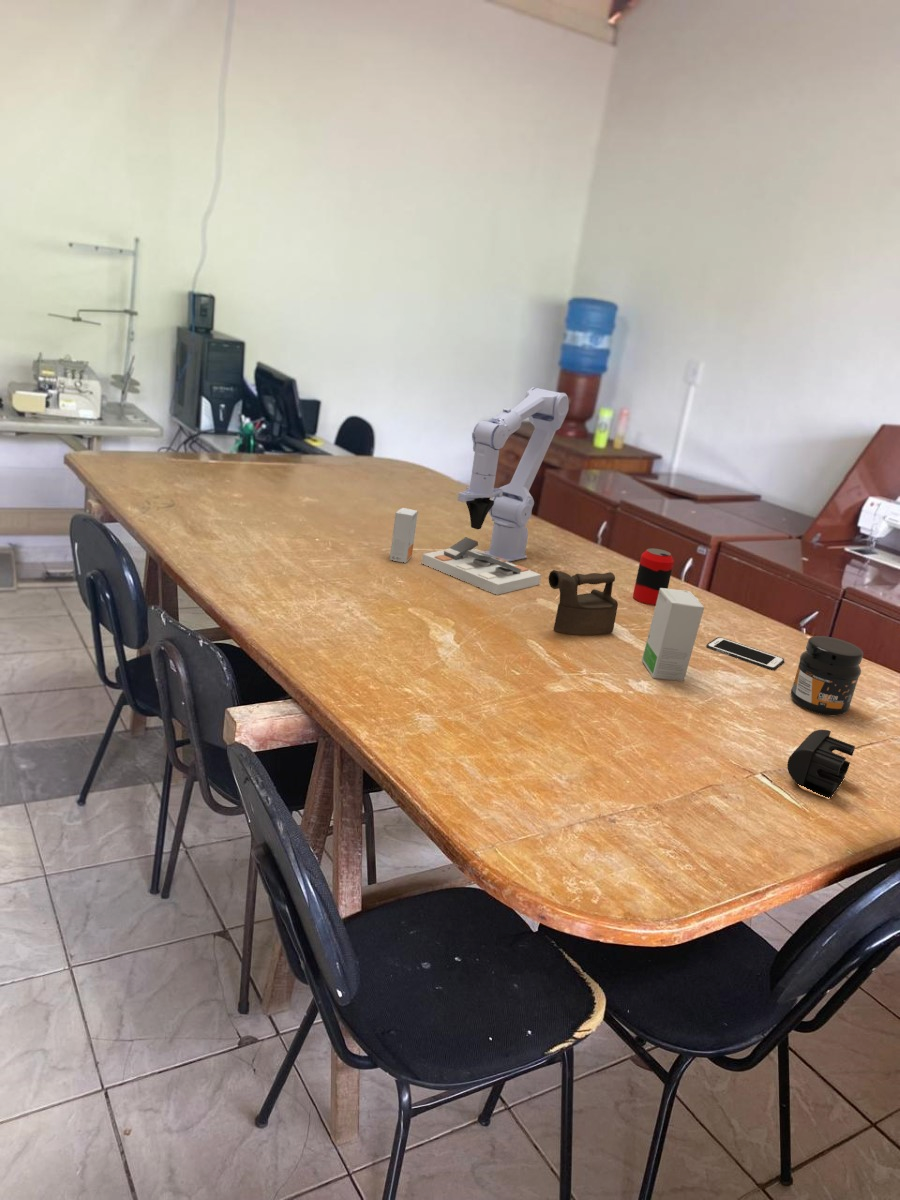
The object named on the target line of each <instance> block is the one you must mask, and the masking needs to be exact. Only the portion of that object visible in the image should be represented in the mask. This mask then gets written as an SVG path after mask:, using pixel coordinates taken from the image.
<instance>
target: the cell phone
mask: <svg viewBox="0 0 900 1200" xmlns="http://www.w3.org/2000/svg"><path fill="white" fill-rule="evenodd" d="M705 647H706V648H707V649H708V650H711V651H714V652H717V653H721V654H724V655H727V656H729V657H731V658H734V659H737V658H738V659H737V660H740V661H743V662H746V663H749V664H752V665H755V666H757V667H760V668H763V669H766V670H770V671H776V670H777V669H778V668H779V666H782V665H783V664H784V662H785V658H783V657H781V656H778V655H775V654H771V653H769V652H766V651H764V650H760V649H757V648H755V647H751V646H748V645H746V644H743V643H740V642H736V641H733V640H730V639H727V638H724V637H721V636H718V637H716V638H714V639H713V640H711V641H709V642H708V643H707V644H706V646H705Z"/></svg>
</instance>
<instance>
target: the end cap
mask: <svg viewBox="0 0 900 1200" xmlns="http://www.w3.org/2000/svg"><path fill="white" fill-rule="evenodd" d="M831 732H832V731H831V730H828V729H818V730H814V731H812V732H811V733H810V734H809V735H808V736H806V738H805V739H804V740H803V741H802V742H801V743H800V744H799V746H797V747H796V749H795V750H794V751H793V752H792V753H791V754H790V756H789V757H788V760H787V767H786V768H787V772H788V774H789V776H790V777H791V779H792V780H793V781H794V782H795V783H797V784H799V785H801V786H804V787H806V788H807V789H810V790H812V791H813V792H816V793H818V794H820V795H823V796H825V797H828V798H829V797H830V798H831V797H832V798H833V796H834V795H835V793H836V792H837V791H838V789H839V788H840V786H841V785H842V784H841V782H842V781H843V779H844V778H846V774H847V773H848V770H849V767H850V765H851V762H850V761H848V760H847V757H844V756H842V755H840V754H836V752H835V753H834V752H833V751H838V752H841V753H843V754H846V755H849V756H851V757H852V756H853V755H854V753H855V749H856V745H854V744H853V745H852V744H851V743H847V742H845V741H842V740H839V739H837V738H834V737H832V736H831ZM844 780H845V779H844ZM843 782H844V781H843ZM843 782H842V783H843ZM797 784H796V785H797ZM840 784H841V785H840ZM839 785H840V786H839ZM838 787H839V788H838ZM837 788H838V789H837ZM836 790H837V791H836ZM835 791H836V792H835ZM834 792H835V793H834ZM833 794H834V795H833ZM832 795H833V796H832ZM832 798H831V799H832Z"/></svg>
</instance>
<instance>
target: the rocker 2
mask: <svg viewBox="0 0 900 1200" xmlns="http://www.w3.org/2000/svg"><path fill="white" fill-rule="evenodd" d="M466 555H468V556H471V557H473V558H476V559H479V560H485V561H489V558H490V557H493V556H491V555H488V554H484V553H478V552H474V551H470V550H467V551H466ZM493 558H495V559H498V558H496V557H493ZM498 560H499V559H498Z"/></svg>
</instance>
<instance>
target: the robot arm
mask: <svg viewBox="0 0 900 1200" xmlns="http://www.w3.org/2000/svg"><path fill="white" fill-rule="evenodd" d="M569 403H570V402H569V397H568V395H567V393H566V392H558V391H553V390H548V389H543V388H538V387H536V386H533V387H531V388H530V389H529V390H527V391H526V394H525V396H524V399H523V400H522V401H521V402H519V403H518V404H517V405H516V406H515V407H514V408H513V407H512V408H511V407H505V408H503V409H502V411H500V412H499V413H497V414H496V415H494V416H492V417H491V418H490V419H489V420H487V421H486V420H481V421H479V422H478V423H476V424H475V426H474V428H473V430H472V432H471V441H472V449H473V452H474V456H473V462H472V469H471V475H470V476H471V477H470V484H469V486H467V487H466V490H464V491H461V492H460V491H459V492H458V493H457V495H458V496H457V501H458V502H461V503H465V504H466V506H467V509H468V513H469V518H470V528H473V529H474V530H481V529H482V527H483V524H484V522H485V520H486V517H487V516H488V514H489V516H490V517H491V521H492V522H493V525H492V526H493V527H492V530H491V531H492V533H491V539H490V546H489V550H484V551H483V552H485V553H486V554H489V555H491V556H494V557H499V558H501V559H504V560H506V561H507V562H509V563H510V562H514V561H519V560H523V559H527V558H528V555H526V549H527V543H528V539H529V531H528V527H527V526H526V525H527V524H528V522H529V520H530V519H531V517H532V510H533V507H534V505H535V501H534V498H533V496H532V494H531V493H530V490H531V487H532V485H533V483H534V481H535V478H536V475H537V474H538V472H539V469H540V467H541V465H542V463H543V460H544V458H545V456H546V454H547V452H548V450H549V447H550V446H551V443H552V440H553V438H554V436H555V434H556V432H557V431H558V430H560V429H561V427H562V425H563V423H564V421H565V419H566V417H567V414H568V412H569V410H570V409H569V408H570V407H569ZM527 419H528V420H529V423H530V424H532V426H533V427H534V429H533V432H532V434H531V436H530V438H529V441H528V443H527V446H526V447H525V449H524V451H523V454H522V456H521V458H520V461H519V463H518V465H517V467H516V469H515V471H514V474H513V476H512V478H511V480H510V482H509V483H508V484H505V485H503V486H500V487H495V483H496V476H497V468H498V463H499V456H500V450H501V449H503V448H504V446H505V444H506V441H507V440H508V439H509V437H510V436H511V435H512V434H513V433H515V432H516V431H518V430H520V428H521V426H522V422H523V421H524V420H527Z"/></svg>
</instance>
